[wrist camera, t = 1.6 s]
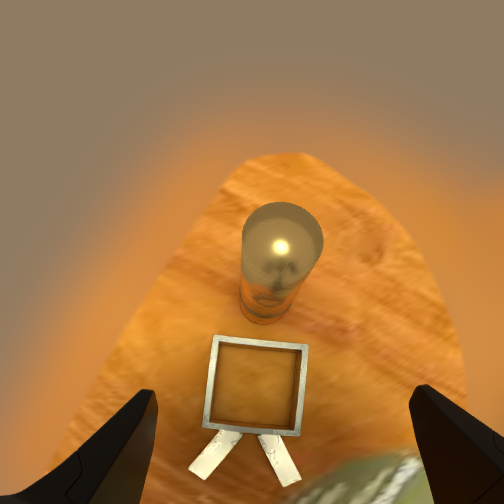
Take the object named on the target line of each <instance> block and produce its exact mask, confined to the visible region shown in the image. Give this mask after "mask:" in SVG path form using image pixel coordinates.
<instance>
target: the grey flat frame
mask: <svg viewBox="0 0 504 504" xmlns="http://www.w3.org/2000/svg"><path fill="white" fill-rule="evenodd" d="M221 345H226V346H234V347H242V348H251V349H260V350H270V351H281V352H292V353H297V355H296V366H295V377H294V388H293V397H292V407H291V416H290V425H289V426H275V425H261V424H250V423H241V422H232V421H224V420H216V419H211V418H212V409H213V401H214V393H215V385H216V377H217V369H218V361H219V353H220V346H221ZM308 347H309V344H297V343H286V342H275V341H265V340H256V339H247V338H238V337H230V336H222V335H215V334H214V336H213V343H212V350H211V358H210V366H209V373H208V381H207V389H206V397H205V405H204V413H203V422H202V427H204V428H211V429H218V430H219V431H218V433H217V434H216V435H215V436H214V437H213V439H212V440H211V441H210V442H209V443H208V445H207V446H206V447H205V448H204V449H203V450H202V452H201V453H200V454H199V455H198V456H197V457H196V459H195V460H194V461H193V462H192V463H191V465H190V466H189V468H188V469H189V470H190V471H192V472H193V473H195V474H196V475H198V476H199V477H200V478H202V479H203V480H205V479H206V478H207V477H208V476H209V475H210V474H211V472H212V471H213V470H214V469H215V468H216V467H217V466H218V464H219V463H220V462H221V461H222V460H223V459H224V457H225V456H226V455H227V454H228V453H229V452H230V450H231V449H232V448H233V447H234V446H235V444H236V443H237V442H238V441H239V439H240V438H241V437H242V436H243V433H253V434H257V437H258V439H259V441H260V443H261V445H262V447H263V449H264V451H265V453H266V455H267V457H268V459H269V461H270V463H271V465H272V467H273V469H274V471H275V473H276V474H277V476H278V478H279V480H280V482H281V484H282V486H283V487H285V486H288V485H290V484H292V483H294V482H297V481H299V480H301V479H302V478H301V477H300V475H299V473H298V471H297V469H296V467H295V465H294V463H293V461H292V459H291V457H290V455H289V453H288V451H287V449H286V447H285V445H284V443H283V441H282V439H281V437H280V436H300V431H301V422H302V413H303V404H304V394H305V383H306V372H307V360H308ZM242 432H243V433H242Z"/></svg>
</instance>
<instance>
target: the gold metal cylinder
mask: <svg viewBox="0 0 504 504" xmlns="http://www.w3.org/2000/svg"><path fill="white" fill-rule="evenodd" d="M322 249H323V234H322V231H321V228H320V226H319V224H318V222H317V221H316V219H315V218H314V217H313V216H312V215H311V214H310V213H309V212H308V211H306V210H305V209H303V208H302V207H300V206H297V205H295V204H291V203H286V202H275V203H269V204H266V205H264V206H261V207H260V208H258V209H256V210H255V211H254V212H253V213H252V214H251V215H250V216H249V217H248V219H247V220H246V222H245V224H244V227H243V232H242V254H241V284H240V306H241V309H242V311H243V313H244V315H245V316H246V317H247V318H248V319H249V320H251V321H252V322H255V323H257V324H271V323H274V322H276V321H277V320H279V319H280V318H281V317H282V316H283V315H284V313H285V312H286V311H287V309H288V308H289V307H290V305H291V303H292V301H293V299H294V297H295V296H296V294H297V293H298V291H299V289H300V288H301V286H302V285H303V283H304V281H305V280H306V278H307V277H308V275H309V273H310V272H311V270H312V269H313V267H314V265H315V264H316V262H317V260H318V259H319V257H320V255H321V252H322Z"/></svg>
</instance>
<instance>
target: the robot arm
mask: <svg viewBox="0 0 504 504" xmlns="http://www.w3.org/2000/svg"><path fill="white" fill-rule="evenodd" d="M409 410H410V414H411V419H412V423H413V428H414V433H415V438H416V442H417V445H418V448H419V451H420V455H421V458H422V461H423V465H424V468H425V471H426V475H427V478H428V482H429V485H430V489H431V493H432V496H433V500H434V504H504V437H502V436H501V435H499V434H498V433H497V432H495V431H493V430H492V429H491V428H489V427H488V426H486V425H485V424H484V423H482V422H481V421H479V420H477V419H476V418H475V417H474V416H472V415H471V414H469V413H468V412H466V411H465V410H464V409H462V408H461V407H459V406H458V405H456V404H455V403H454V402H452V401H451V400H449V399H448V398H446V397H445V396H444V395H442V394H441V393H439V392H438V391H436V390H435V389H434V388H432V387H431V386H429V385H427V384H424V385H418V386H417V387H416V388H415V390H414V392H413V394H412V396H411V398H410V400H409ZM157 416H158V404H157V400H156V395H155V392H154V391H153V390H149V389H141V390H140V391H139V392H138V393H137V394H136V395H135V396H134V397H133V398H132V399H130V400H129V401H128V402H127V403H126V404H125V405H124V406H123V407H122V408H121V409H120V410H119V411H118V412H117V413H116V414H115V415H114V416H113V417H111V418H110V419H109V420H108V421H107V422H106V423H105V424H104V425H103V426H102V427H101V428H100V429H99V430H98V431H97V432H96V433H94V434H93V435H92V436H91V437H90V438H89V439H88V440H87V441H86V442H85V443H84V444H83V445H82V446H80V447H79V448H78V451H75V452H74V453H73V454H72V455H71V456H69V457H68V458H67V459H66V460H65V461H64V462H63V463H61V464H60V465H59V466H58V467H56V468H55V469H54V470H52V471H51V472H50V473H48V474H47V475H45V476H44V477H42V478H41V479H39V480H38V481H36V482H35V483H34V484H32V485H31V486H29V487H28V488H26V489H24V490H23V491H21V492H19V493H16V494H12V495H4V496H0V504H139V503H140V499H141V495H142V491H143V487H144V483H145V479H146V475H147V471H148V467H149V464H150V460H151V456H152V452H153V446H154V438H155V430H156V423H157Z"/></svg>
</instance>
